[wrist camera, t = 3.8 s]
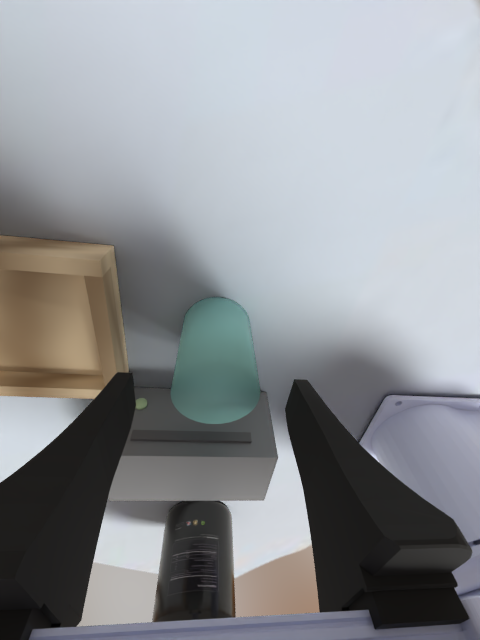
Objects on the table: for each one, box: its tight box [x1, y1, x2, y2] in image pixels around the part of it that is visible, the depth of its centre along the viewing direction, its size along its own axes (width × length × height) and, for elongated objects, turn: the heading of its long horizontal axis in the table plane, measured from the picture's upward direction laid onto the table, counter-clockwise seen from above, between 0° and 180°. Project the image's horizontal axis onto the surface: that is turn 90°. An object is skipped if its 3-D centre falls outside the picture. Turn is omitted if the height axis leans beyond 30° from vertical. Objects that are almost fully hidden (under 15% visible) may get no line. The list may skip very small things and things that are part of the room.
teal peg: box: [171, 297, 260, 424], centre depth 15 cm, size 4×4×6 cm
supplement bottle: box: [152, 501, 235, 622], centre depth 25 cm, size 7×7×12 cm
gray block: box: [108, 387, 278, 501], centre depth 20 cm, size 10×5×5 cm, turn 83°
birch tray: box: [0, 235, 129, 399], centre depth 15 cm, size 9×9×2 cm
